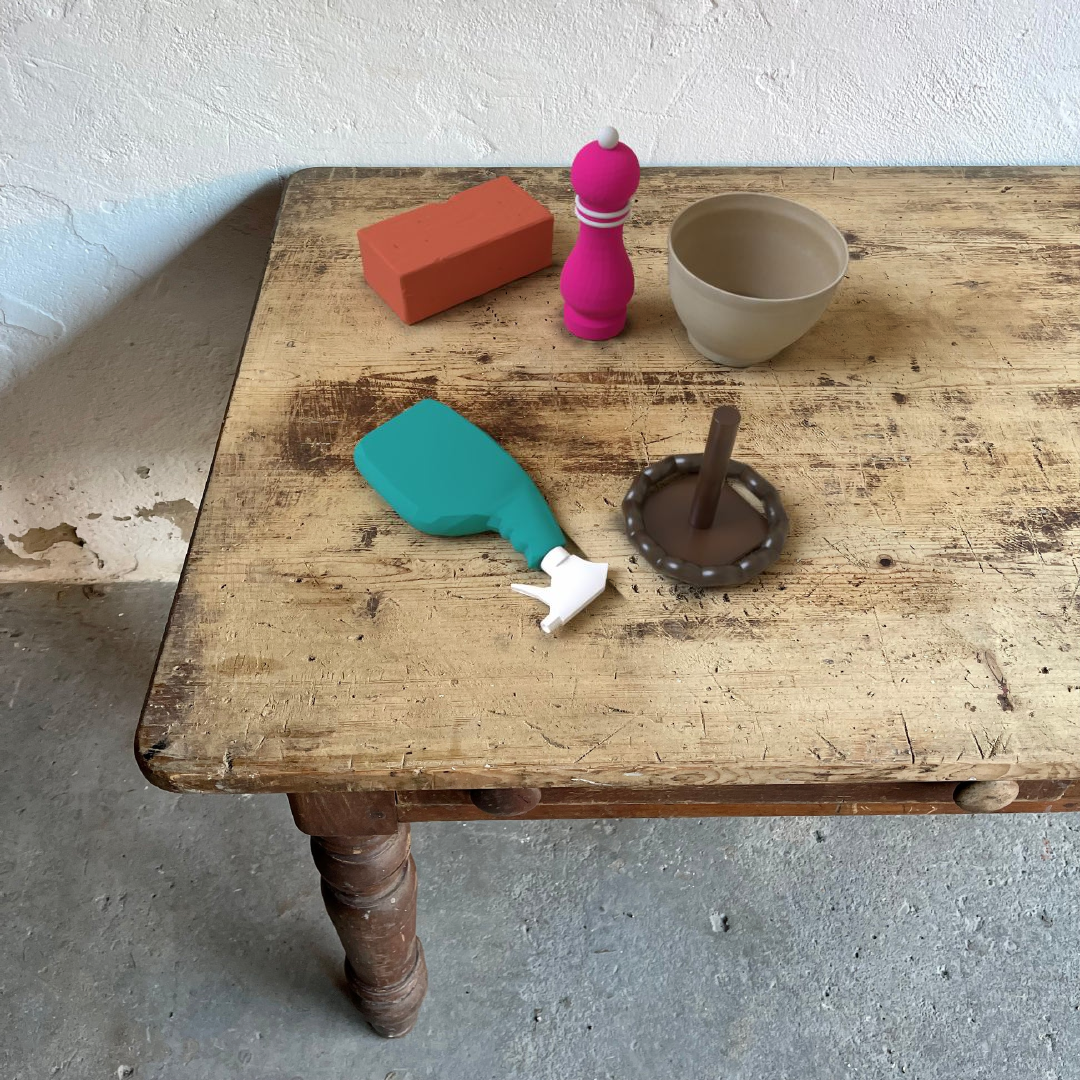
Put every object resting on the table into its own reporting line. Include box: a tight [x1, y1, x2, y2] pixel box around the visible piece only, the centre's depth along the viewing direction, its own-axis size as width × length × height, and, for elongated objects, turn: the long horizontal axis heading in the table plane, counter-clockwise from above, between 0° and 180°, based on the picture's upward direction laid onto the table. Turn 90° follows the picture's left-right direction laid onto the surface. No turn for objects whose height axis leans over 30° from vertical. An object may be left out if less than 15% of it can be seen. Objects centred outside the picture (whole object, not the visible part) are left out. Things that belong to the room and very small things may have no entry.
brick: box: [356, 175, 555, 326], centre depth 92 cm, size 18×9×6 cm, turn 125°
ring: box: [620, 452, 791, 588], centre depth 72 cm, size 13×13×2 cm
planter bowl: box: [667, 191, 850, 368], centre depth 84 cm, size 16×16×11 cm
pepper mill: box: [559, 125, 641, 341], centre depth 82 cm, size 7×7×20 cm
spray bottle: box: [353, 398, 609, 634], centre depth 73 cm, size 3×11×24 cm
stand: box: [641, 405, 769, 587], centre depth 68 cm, size 9×9×13 cm
